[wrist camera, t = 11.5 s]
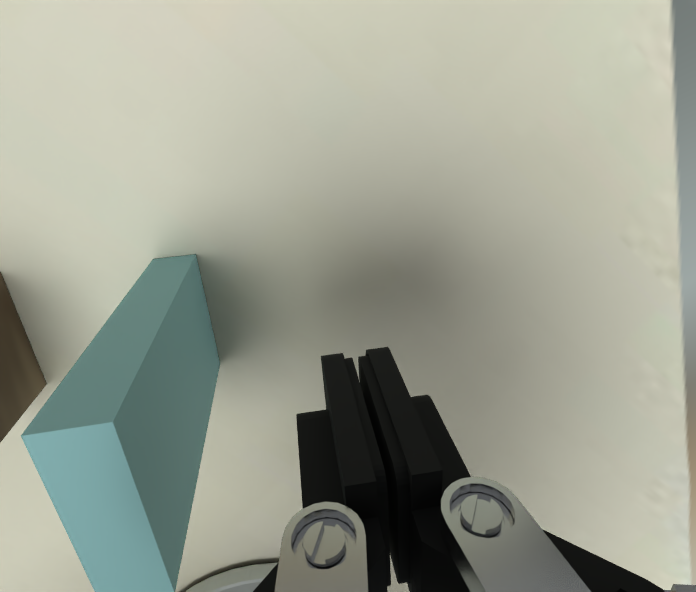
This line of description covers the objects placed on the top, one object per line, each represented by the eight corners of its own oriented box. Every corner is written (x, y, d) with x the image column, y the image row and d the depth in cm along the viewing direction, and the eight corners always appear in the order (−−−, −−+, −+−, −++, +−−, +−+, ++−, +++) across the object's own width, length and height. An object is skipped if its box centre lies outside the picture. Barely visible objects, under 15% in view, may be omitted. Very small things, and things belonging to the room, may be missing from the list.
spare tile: (220, 363, 19) (174, 593, 10) (182, 368, 19) (102, 607, 10) (195, 254, 17) (112, 421, 8) (153, 259, 17) (20, 435, 8)
